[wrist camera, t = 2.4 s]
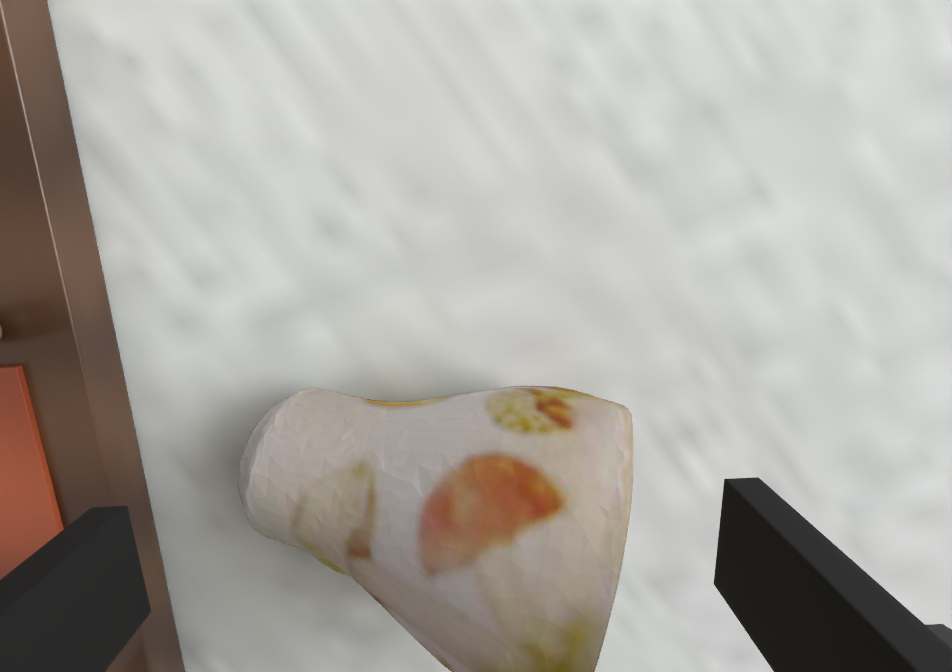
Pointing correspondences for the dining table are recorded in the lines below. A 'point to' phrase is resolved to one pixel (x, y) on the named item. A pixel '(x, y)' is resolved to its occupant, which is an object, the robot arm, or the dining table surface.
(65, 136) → the rack
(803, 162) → the dining table surface
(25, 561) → the robot arm
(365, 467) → the mug
